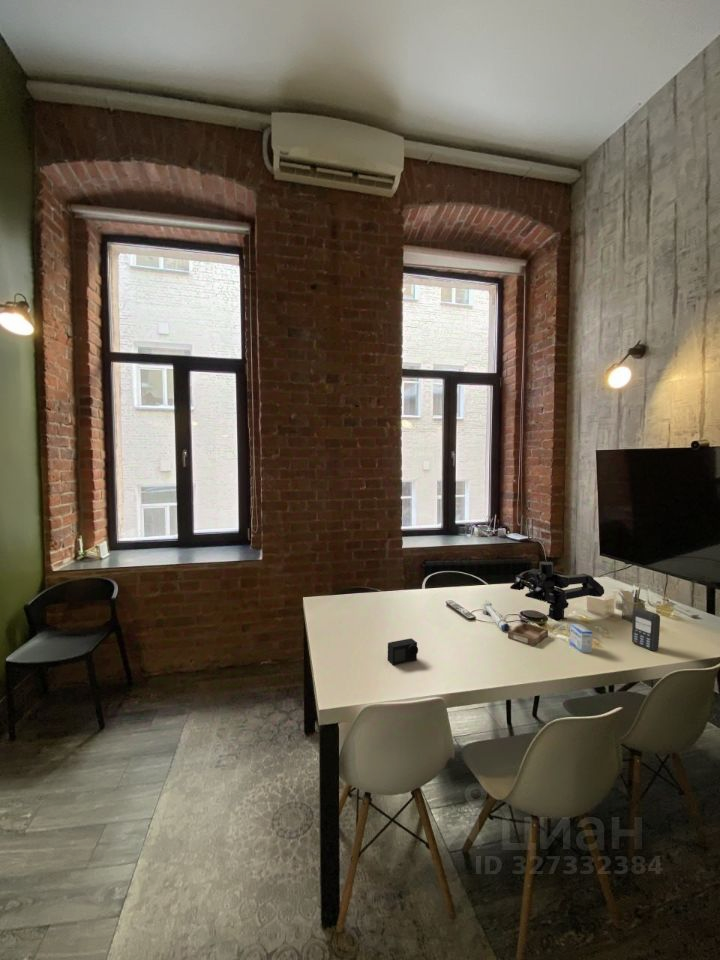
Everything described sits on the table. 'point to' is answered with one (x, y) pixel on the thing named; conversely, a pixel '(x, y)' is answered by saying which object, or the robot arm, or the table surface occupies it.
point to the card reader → (645, 629)
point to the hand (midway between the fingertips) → (517, 591)
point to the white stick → (495, 616)
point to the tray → (528, 634)
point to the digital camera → (402, 651)
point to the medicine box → (581, 638)
